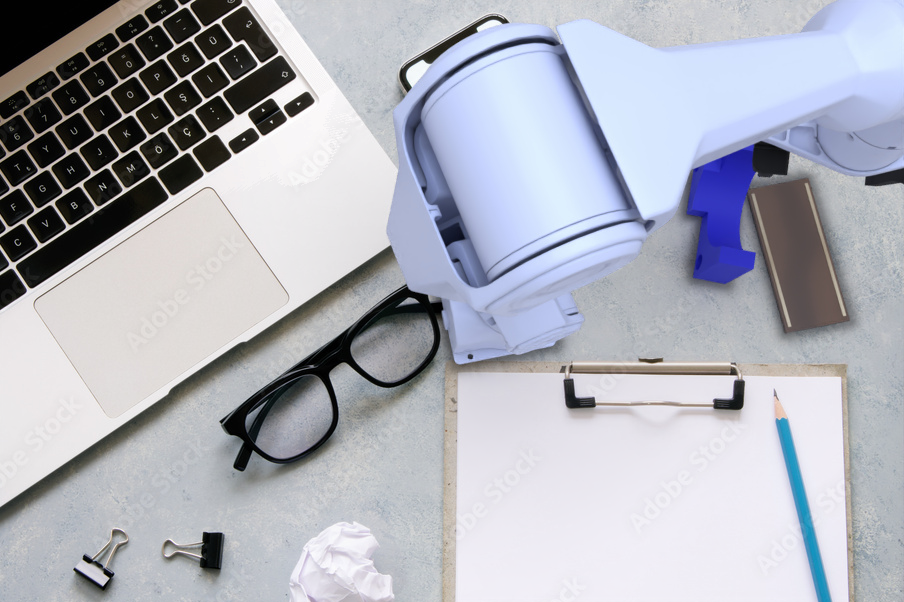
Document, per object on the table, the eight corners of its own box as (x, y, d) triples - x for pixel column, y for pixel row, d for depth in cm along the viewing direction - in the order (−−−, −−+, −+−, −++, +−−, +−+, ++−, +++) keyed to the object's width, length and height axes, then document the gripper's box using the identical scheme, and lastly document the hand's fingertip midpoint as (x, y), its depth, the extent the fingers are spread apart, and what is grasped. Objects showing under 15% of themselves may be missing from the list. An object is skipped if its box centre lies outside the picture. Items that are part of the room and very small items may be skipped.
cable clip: (695, 154, 72) (720, 128, 66) (742, 163, 72) (772, 138, 66) (676, 274, 70) (701, 259, 64) (724, 284, 70) (753, 269, 64)
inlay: (785, 333, 69) (787, 332, 69) (745, 190, 71) (747, 189, 71) (848, 320, 69) (850, 320, 69) (806, 178, 72) (809, 177, 71)
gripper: (1039, 44, 44) (925, 125, 57) (773, 32, 47) (724, 112, 60) (1026, 163, 43) (915, 216, 57) (759, 143, 46) (713, 198, 60)
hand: (816, 168), depth 58 cm, fingers open, 7 cm apart
